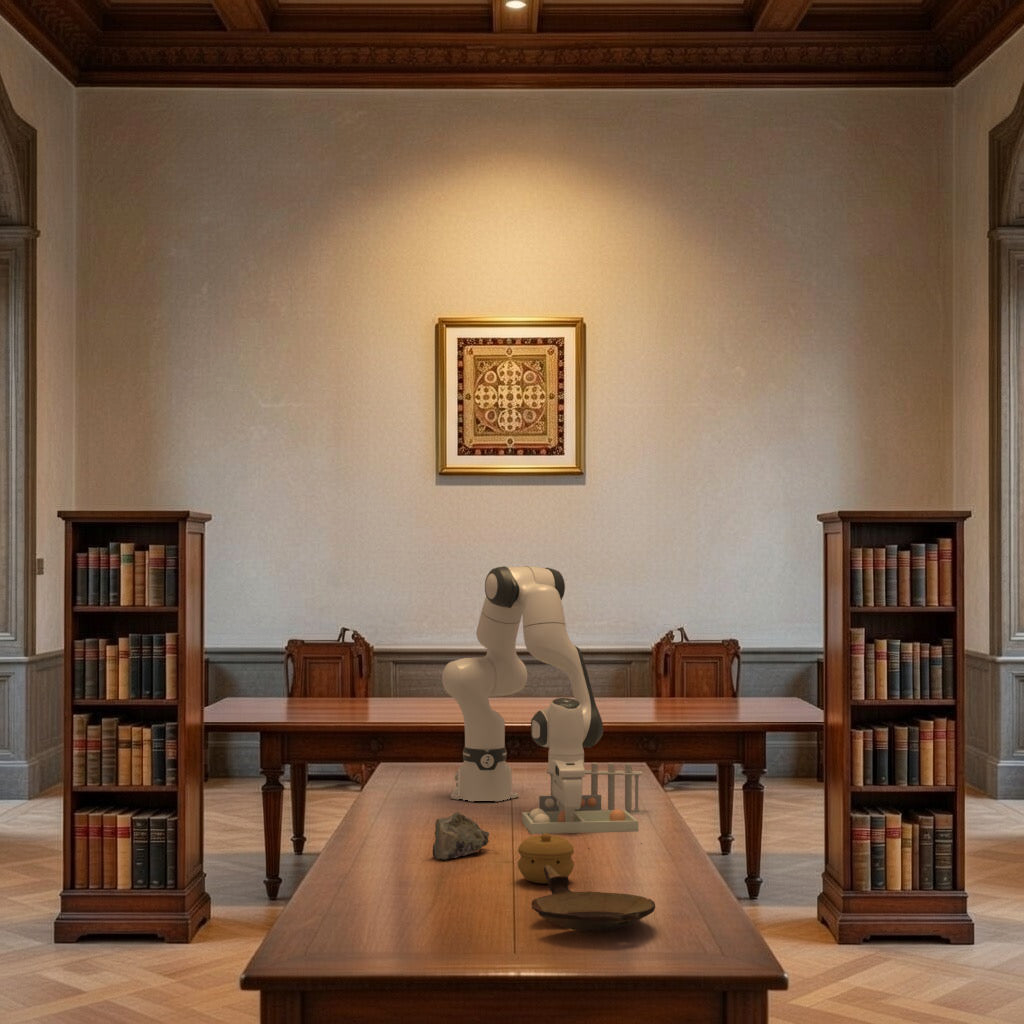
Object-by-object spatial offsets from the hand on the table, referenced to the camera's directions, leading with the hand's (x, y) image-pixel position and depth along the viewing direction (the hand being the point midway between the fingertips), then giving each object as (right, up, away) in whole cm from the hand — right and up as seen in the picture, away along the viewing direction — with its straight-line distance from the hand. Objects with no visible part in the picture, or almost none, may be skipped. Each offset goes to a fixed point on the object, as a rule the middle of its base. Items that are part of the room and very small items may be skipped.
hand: (565, 821), depth 341 cm
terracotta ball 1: (0, -1, 0) cm, 1 cm away
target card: (+2, -2, +13) cm, 13 cm away
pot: (-6, -1, -54) cm, 55 cm away
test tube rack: (+8, -3, +21) cm, 22 cm away
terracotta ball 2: (+13, -1, +2) cm, 13 cm away
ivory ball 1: (-7, -1, +2) cm, 7 cm away
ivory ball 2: (-6, -1, -4) cm, 7 cm away
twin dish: (+3, -2, 0) cm, 4 cm away
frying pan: (+1, 0, -86) cm, 86 cm away
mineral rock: (-25, -1, -31) cm, 39 cm away
